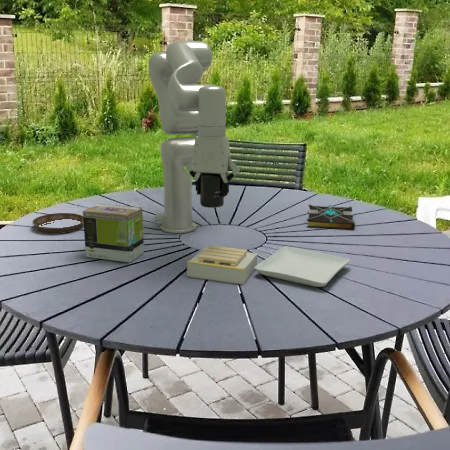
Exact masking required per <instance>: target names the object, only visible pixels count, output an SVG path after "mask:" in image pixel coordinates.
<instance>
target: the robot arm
mask: <svg viewBox="0 0 450 450" xmlns="http://www.w3.org/2000/svg"><path fill="white" fill-rule="evenodd" d="M212 62H213V52H212V48H211V46H210V45H209V44H208V43H207V42H206V41H202V40H201V41H198V40H178V41H177V40H175V41H173V42H171V43H170V44H169V45H168V46H167V47H166V50H165V51H159V52H155V53H153V54H152V55H150V57H149V60H148V74H149V79H150V81H151V84H152V87H153V88H154V90H155V94H156V96H157V101H158V111H159V116H160V117H159V119H160V122H161V123H160V125H161V128H162V131H163V132H164V133H165V134H167V135H169V136H173V135H174V136H177V137H172V138H167V139H164V141H162V143H161V145H160V156H161V157H160V158H161V163H162V169H163V170H162V171H163V199H164V201H163V202H164V206H163V207H164V213H163V214H159V213H155V215H154V221H156V222H161V224H160V229H161V231H163V232H165V233H169V234H170V233H171V234H184V233H185V234H186V233H190V232H193V231H196V229H197V224H196V222H194V221H193V180H194V181H195V191H196V195H197V196H198V195H199V196H200V176H201V174H203V173H211V174H220V175H221V177H222V179H223V183H222V197H224V198H225V197H226V196H228V194H229V192H230V181H231V180H232V179H233V178H234V177H236V175H237V174H238V173H239V172H240V170H241V169H240V167H239V166H238V165H237V164H236V163H235V162H233V160H231V158H232V157H231V148H230V141H229V137H228V136H226V131H227V130H226V127H227V126H226V124H227V123H226V121H227V120H226V115H227V111H226V110H227V109H226V104H227V103H226V102H227V101H226V100H227V99H226V97H227V93H226V89H225V87H223V86H219V85H217V84H211V83H209V84H208V83H206V84H205V83H204V84H201V83H199V82H200V80H201V79H202V78H203V77H202V76H203V74H204V73H205V72H206V71H207V70H208V69H209V68H210V66H211V65H212ZM198 83H199V84H198ZM181 135H182V136H183V135H192V136H188V137H187V136H186V137H185V136H183V137H180V136H181ZM178 136H179V137H178ZM230 170H232V171H231V172H230ZM229 172H230V173H229ZM192 179H193V180H192Z"/></svg>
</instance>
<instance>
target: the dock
mask: <svg viewBox="0 0 450 450" xmlns="http://www.w3.org/2000/svg"><path fill="white" fill-rule="evenodd" d="M186 265H187V266H186V270H187V271H186V272H187V273H186V275H187V276H186V277H189V278H195V279H203V280H207V281H208V280H210V281H216V282H224V283H228V284H229V283H231V284H236V285H237V284H238V285H244V283H245V282H246V281H247V279H248V278H249V277H250V276H251V275H252V274H253V272H254V271H256V270H255V269H254V267H255V266H257V265H258V253H256V252H255V253H254V252H248V250H247V249H243V248H242V249H241V248H234V247H226V246H219V245H218V246H217V245H210V246H209V247H208V246H207V247H204V248H202V249H201V250H200V251H199V252H198V253H197V254H196V255H195V256H193V257H191V259H189V260H187V261H186Z"/></svg>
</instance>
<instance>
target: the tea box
mask: <svg viewBox="0 0 450 450" xmlns="http://www.w3.org/2000/svg"><path fill="white" fill-rule="evenodd" d="M143 214H144V213H143V207H141V206H140V207H139V206H128V205H118V204H107V203H98V204H96V205H93V206H91V207H89V208H87V209H84V210H83V211H82V216H83V222H84V223H83V233H84V248H85V250H84V251H85V257H86V258H93V259H100V260H109V261H116V262H121V263H129V264H130V263H131V262H133V261H135V260H137V258H139V257H141V256H142V255H143V254H144V252H145V245H144V242H145V241H144V220H143V219H144V217H143Z"/></svg>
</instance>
